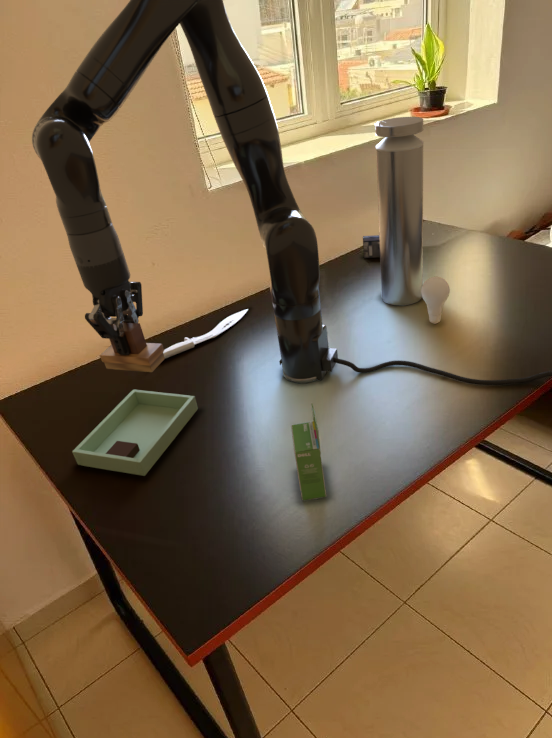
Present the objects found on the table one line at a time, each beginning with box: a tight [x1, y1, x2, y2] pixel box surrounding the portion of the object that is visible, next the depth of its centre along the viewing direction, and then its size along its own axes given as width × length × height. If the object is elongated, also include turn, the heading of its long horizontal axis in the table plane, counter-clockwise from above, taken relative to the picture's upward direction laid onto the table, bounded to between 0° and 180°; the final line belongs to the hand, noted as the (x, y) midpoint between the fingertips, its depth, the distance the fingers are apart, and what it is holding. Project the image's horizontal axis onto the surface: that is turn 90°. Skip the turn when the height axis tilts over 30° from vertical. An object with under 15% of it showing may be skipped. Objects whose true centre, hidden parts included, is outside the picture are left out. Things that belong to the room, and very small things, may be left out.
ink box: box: [290, 402, 327, 501], centre depth 87 cm, size 7×4×13 cm, turn 5°
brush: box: [99, 322, 166, 373], centre depth 100 cm, size 10×5×8 cm, turn 72°
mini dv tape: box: [362, 234, 380, 259], centre depth 165 cm, size 8×2×6 cm, turn 80°
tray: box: [71, 389, 199, 477], centre depth 106 cm, size 14×20×4 cm
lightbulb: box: [421, 276, 451, 325], centre depth 126 cm, size 6×6×11 cm
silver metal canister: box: [374, 116, 425, 307], centre depth 131 cm, size 10×10×40 cm
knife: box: [163, 308, 249, 359], centre depth 138 cm, size 30×2×8 cm
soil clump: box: [106, 441, 140, 458], centre depth 101 cm, size 4×4×2 cm
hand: (131, 348), depth 101 cm, fingers closed on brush, 3 cm apart
